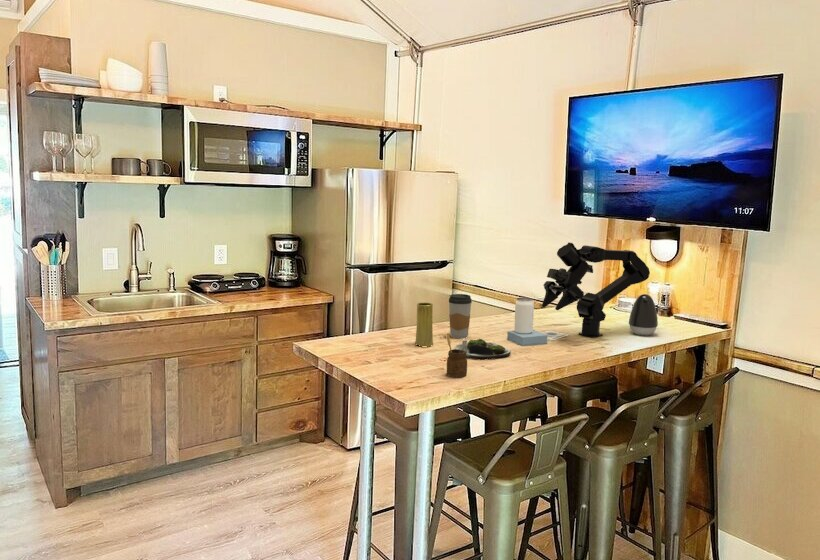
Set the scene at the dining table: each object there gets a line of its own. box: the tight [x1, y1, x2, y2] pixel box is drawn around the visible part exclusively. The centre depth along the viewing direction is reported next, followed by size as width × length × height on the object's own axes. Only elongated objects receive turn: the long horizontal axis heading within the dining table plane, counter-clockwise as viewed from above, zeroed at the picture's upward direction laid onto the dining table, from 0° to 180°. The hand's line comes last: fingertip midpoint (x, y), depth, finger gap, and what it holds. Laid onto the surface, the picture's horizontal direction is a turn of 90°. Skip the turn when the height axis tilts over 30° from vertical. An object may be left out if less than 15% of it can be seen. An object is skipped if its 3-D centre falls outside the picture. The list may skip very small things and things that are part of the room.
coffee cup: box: [448, 293, 473, 339], centre depth 232 cm, size 8×8×15 cm
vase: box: [414, 302, 434, 347], centre depth 220 cm, size 6×6×14 cm
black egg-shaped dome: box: [628, 293, 659, 336], centre depth 241 cm, size 10×10×15 cm
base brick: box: [506, 329, 548, 347], centre depth 228 cm, size 10×10×3 cm
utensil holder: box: [445, 333, 468, 378], centre depth 187 cm, size 6×6×12 cm
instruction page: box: [541, 330, 570, 341], centre depth 237 cm, size 12×9×1 cm
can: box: [513, 297, 535, 334], centre depth 228 cm, size 6×6×12 cm
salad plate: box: [454, 338, 511, 361], centre depth 213 cm, size 19×18×5 cm
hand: (549, 308), depth 229 cm, fingers open, 9 cm apart
